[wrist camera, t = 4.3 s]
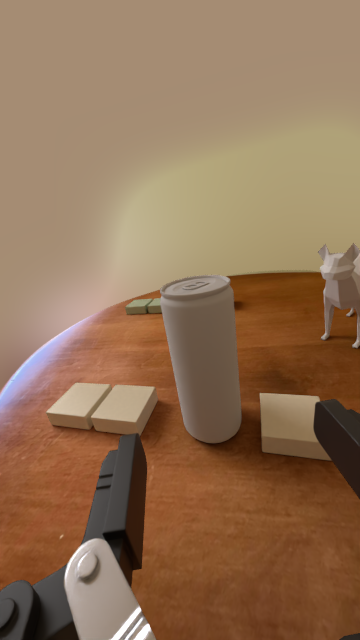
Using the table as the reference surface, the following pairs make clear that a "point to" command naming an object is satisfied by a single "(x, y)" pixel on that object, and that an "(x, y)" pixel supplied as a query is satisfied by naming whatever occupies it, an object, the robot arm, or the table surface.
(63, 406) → the near word
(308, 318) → the table surface
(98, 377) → the table surface
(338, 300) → the cat figurine
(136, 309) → the far word
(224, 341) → the beverage can
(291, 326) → the table surface
